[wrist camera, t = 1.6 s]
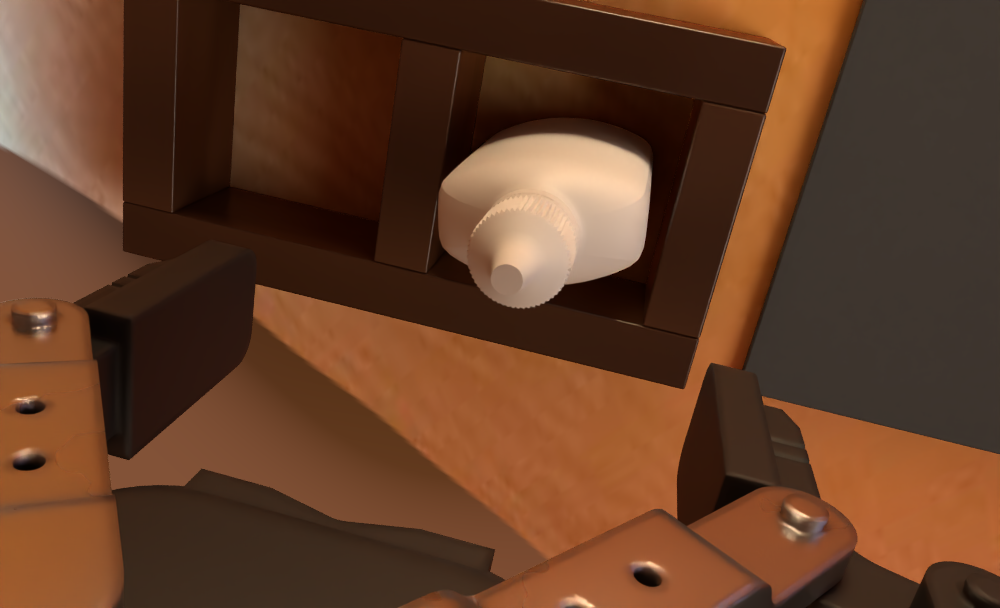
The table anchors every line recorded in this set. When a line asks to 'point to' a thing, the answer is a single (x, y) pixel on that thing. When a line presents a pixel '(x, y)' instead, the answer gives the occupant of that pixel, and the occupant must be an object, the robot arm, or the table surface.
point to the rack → (447, 165)
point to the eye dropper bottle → (547, 207)
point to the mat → (898, 233)
